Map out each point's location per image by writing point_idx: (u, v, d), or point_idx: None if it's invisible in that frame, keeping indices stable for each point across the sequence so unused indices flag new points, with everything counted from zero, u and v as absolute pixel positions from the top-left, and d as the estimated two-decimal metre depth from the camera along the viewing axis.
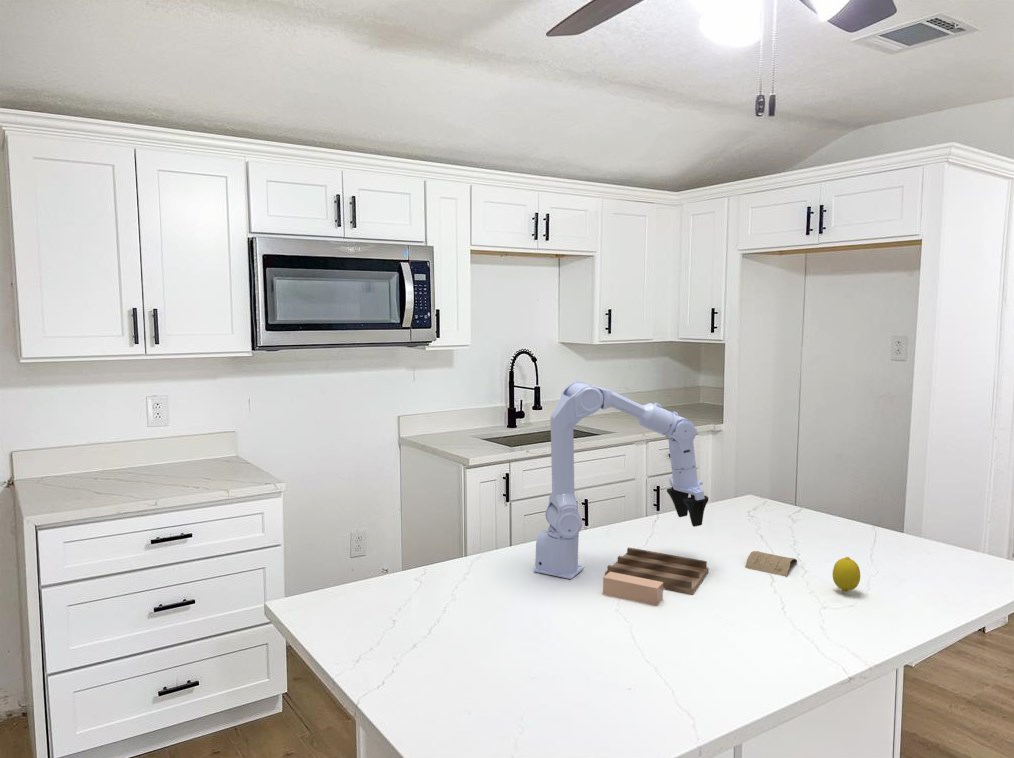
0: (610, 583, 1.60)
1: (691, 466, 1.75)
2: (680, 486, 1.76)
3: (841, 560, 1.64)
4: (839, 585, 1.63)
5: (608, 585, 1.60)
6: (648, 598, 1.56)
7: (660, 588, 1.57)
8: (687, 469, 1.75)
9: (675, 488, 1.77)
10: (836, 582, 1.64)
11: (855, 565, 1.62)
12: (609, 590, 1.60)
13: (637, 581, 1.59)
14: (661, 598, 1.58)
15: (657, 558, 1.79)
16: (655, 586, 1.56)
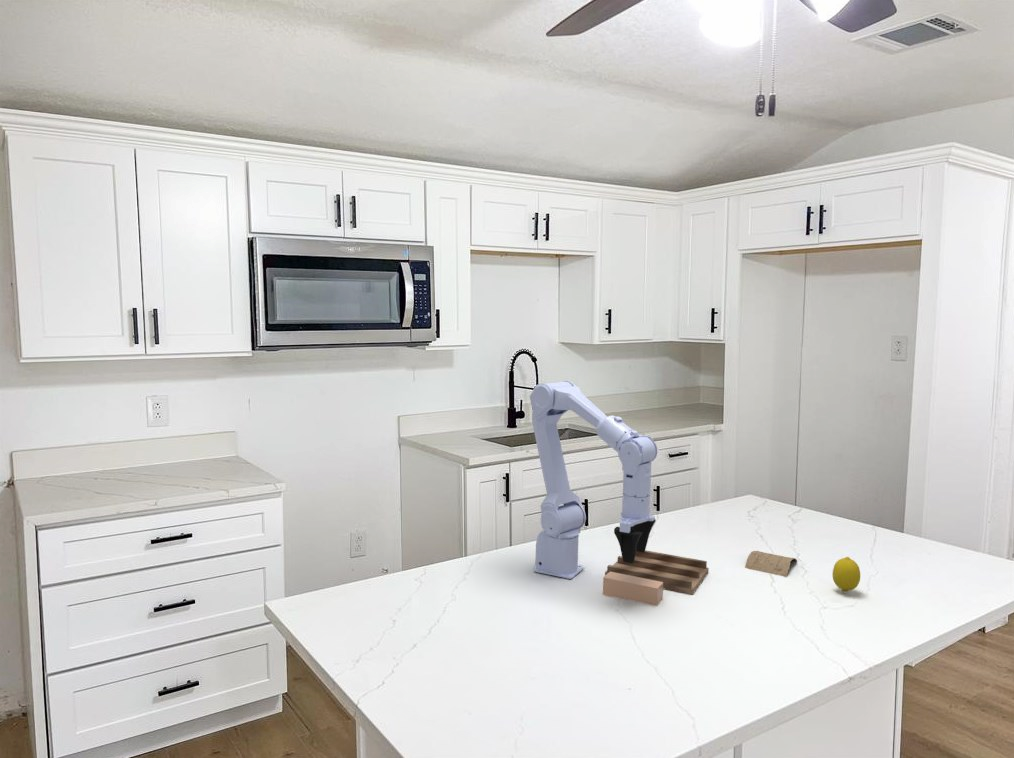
0: (610, 583, 1.60)
1: (631, 494, 1.55)
2: (622, 513, 1.58)
3: (841, 560, 1.64)
4: (839, 585, 1.63)
5: (608, 585, 1.60)
6: (649, 597, 1.56)
7: (660, 588, 1.57)
8: (630, 497, 1.55)
9: (621, 514, 1.59)
10: (836, 582, 1.64)
11: (855, 565, 1.62)
12: (609, 590, 1.60)
13: (637, 581, 1.59)
14: (661, 598, 1.58)
15: (657, 558, 1.79)
16: (655, 586, 1.56)
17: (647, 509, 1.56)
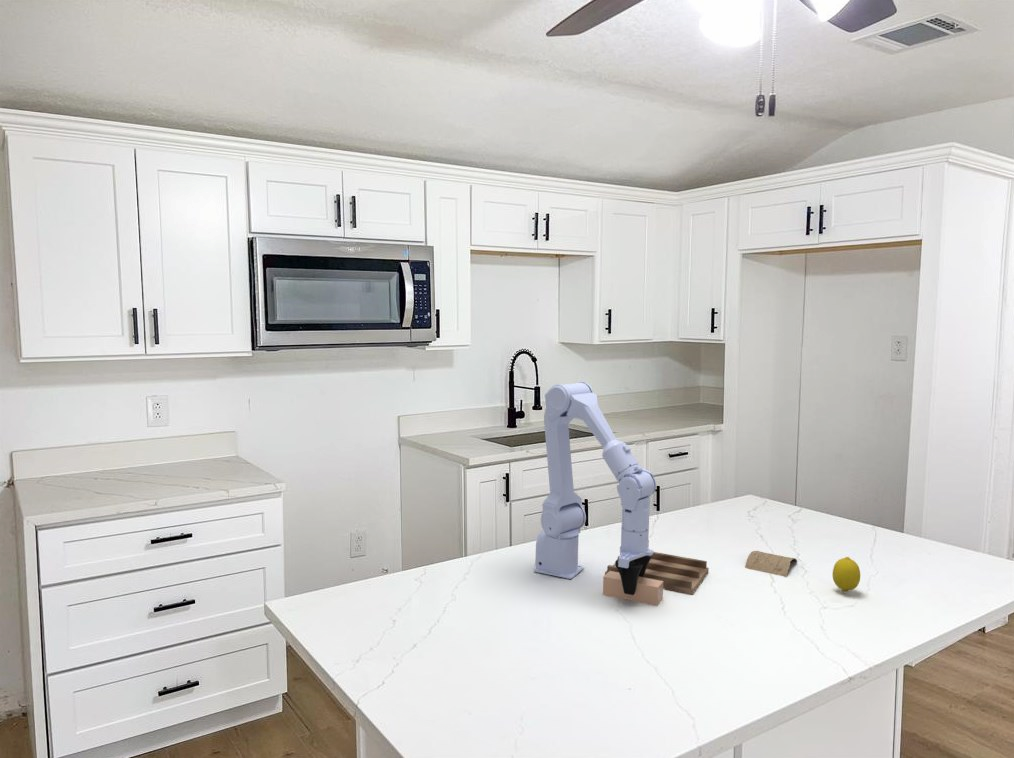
0: (610, 582, 1.60)
1: (630, 529, 1.56)
2: (621, 547, 1.58)
3: (841, 560, 1.64)
4: (839, 585, 1.63)
5: (608, 584, 1.60)
6: (649, 597, 1.56)
7: (660, 587, 1.57)
8: (629, 531, 1.56)
9: (620, 548, 1.60)
10: (836, 582, 1.64)
11: (855, 565, 1.62)
12: (609, 589, 1.60)
13: (637, 580, 1.59)
14: (661, 597, 1.58)
15: (657, 558, 1.79)
16: (655, 585, 1.56)
17: (646, 543, 1.57)
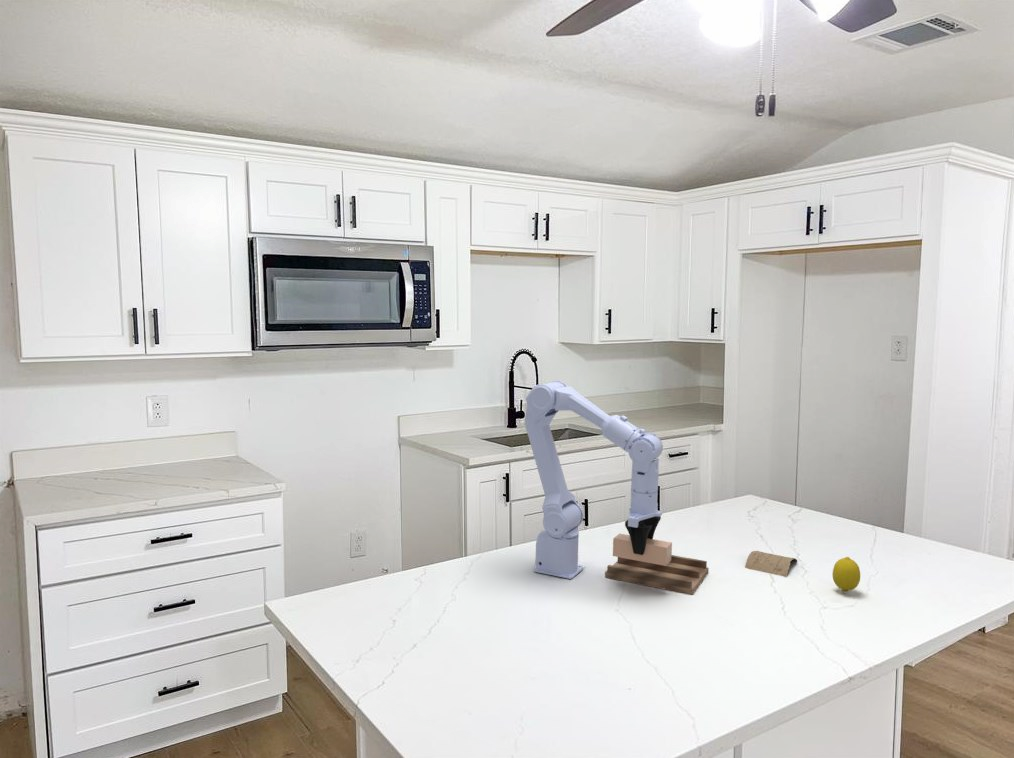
0: (620, 544, 1.64)
1: (643, 491, 1.60)
2: (631, 509, 1.63)
3: (841, 560, 1.64)
4: (839, 585, 1.63)
5: (618, 545, 1.64)
6: (658, 557, 1.60)
7: (669, 548, 1.61)
8: (638, 493, 1.60)
9: None
10: (836, 582, 1.64)
11: (855, 565, 1.62)
12: (619, 551, 1.64)
13: (646, 541, 1.63)
14: (670, 558, 1.62)
15: None
16: (664, 546, 1.60)
17: (655, 505, 1.61)
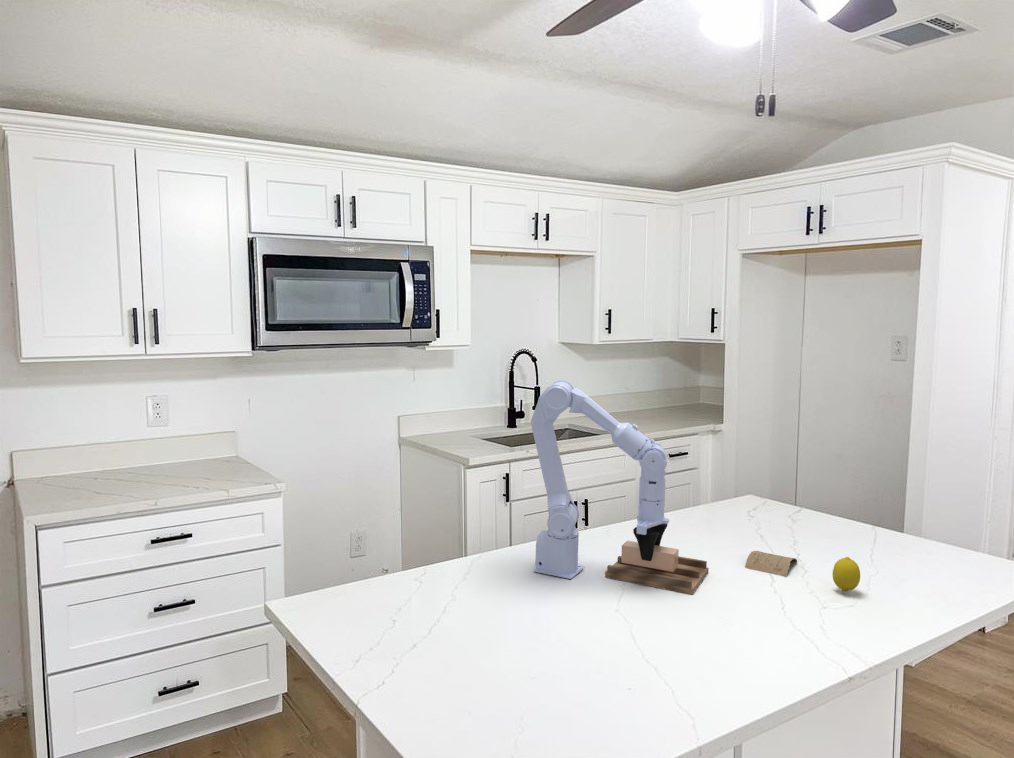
0: (628, 551, 1.70)
1: (654, 499, 1.65)
2: (639, 516, 1.68)
3: (841, 560, 1.64)
4: (839, 585, 1.63)
5: (626, 552, 1.70)
6: (665, 563, 1.66)
7: (676, 554, 1.67)
8: (646, 501, 1.66)
9: (637, 517, 1.69)
10: (836, 582, 1.64)
11: (855, 565, 1.62)
12: (627, 557, 1.70)
13: (654, 548, 1.69)
14: (677, 564, 1.68)
15: None
16: (671, 553, 1.66)
17: (662, 512, 1.67)
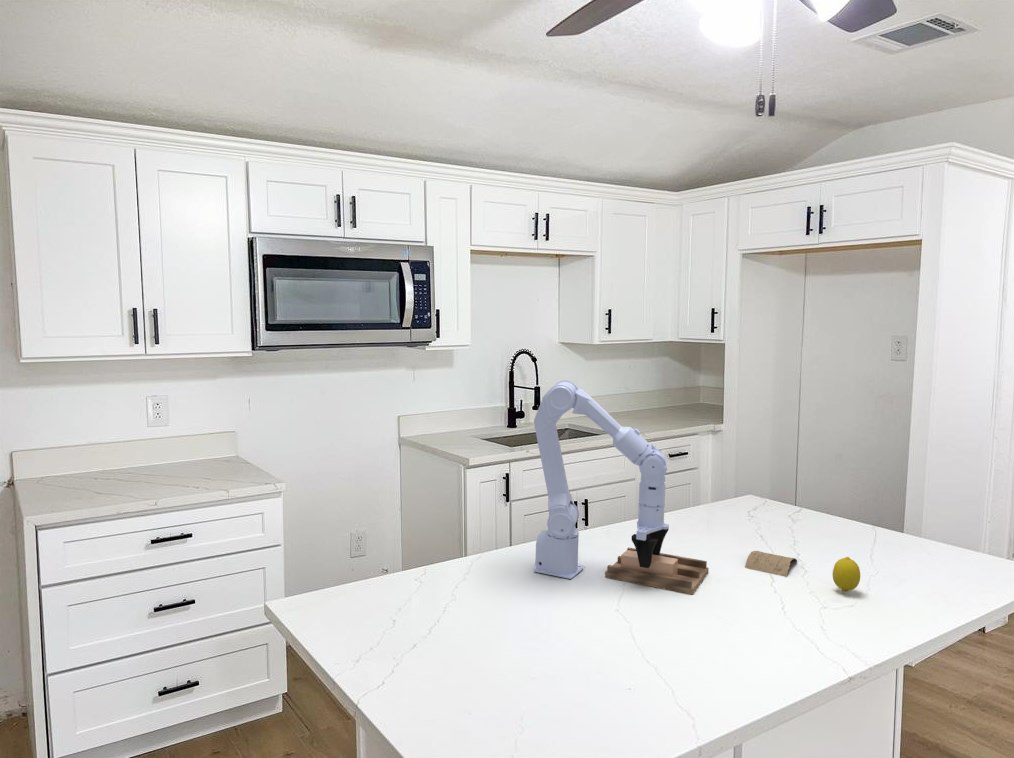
0: (627, 560, 1.70)
1: (654, 505, 1.65)
2: (638, 522, 1.68)
3: (841, 560, 1.64)
4: (839, 585, 1.63)
5: (625, 562, 1.70)
6: (664, 573, 1.66)
7: (675, 564, 1.67)
8: (646, 506, 1.66)
9: (637, 523, 1.70)
10: (836, 582, 1.64)
11: (855, 565, 1.62)
12: (627, 567, 1.70)
13: (653, 558, 1.69)
14: (676, 574, 1.68)
15: None
16: (670, 563, 1.66)
17: (662, 518, 1.67)
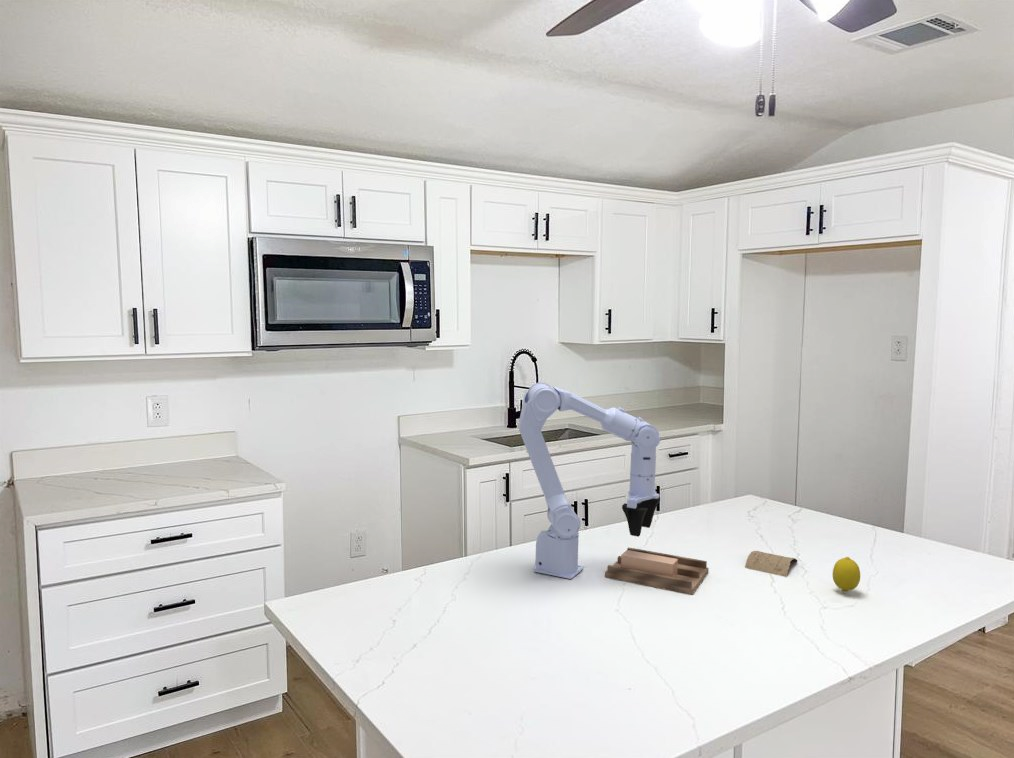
0: (627, 560, 1.70)
1: (649, 475, 1.71)
2: (630, 491, 1.73)
3: (841, 560, 1.64)
4: (839, 585, 1.63)
5: (625, 562, 1.70)
6: (664, 573, 1.66)
7: (675, 564, 1.67)
8: (637, 476, 1.71)
9: None
10: (836, 582, 1.64)
11: (855, 565, 1.62)
12: (627, 567, 1.70)
13: (653, 558, 1.69)
14: (676, 574, 1.68)
15: None
16: (670, 563, 1.66)
17: (652, 488, 1.72)
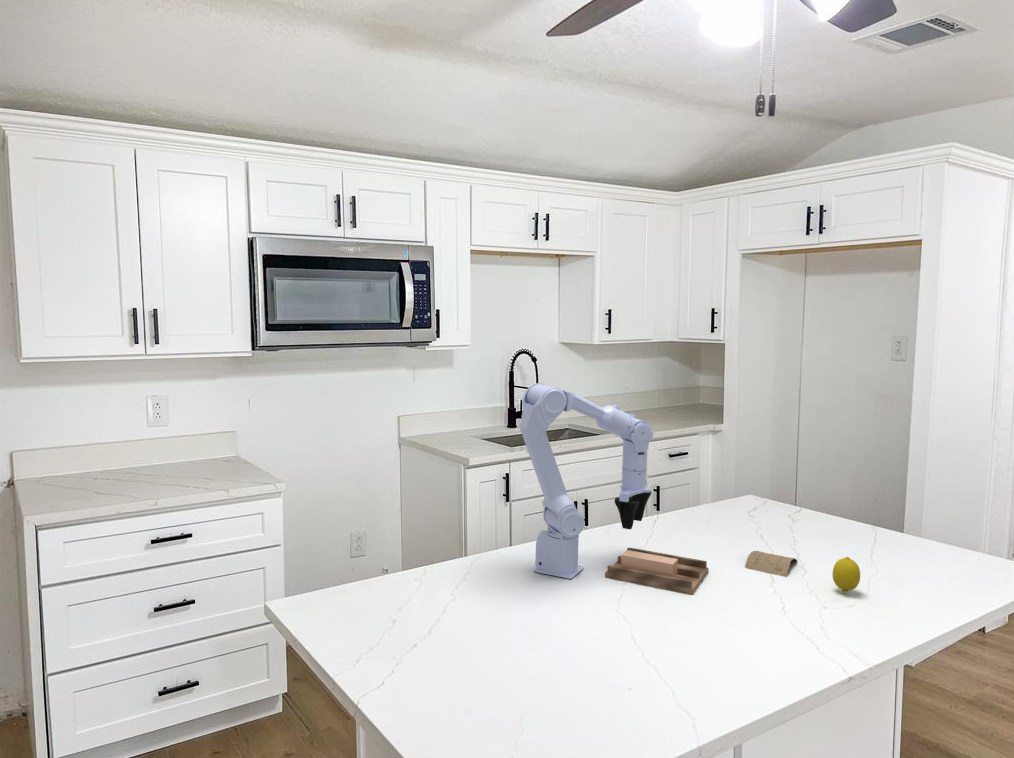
0: (627, 560, 1.70)
1: (643, 469, 1.76)
2: (622, 486, 1.78)
3: (841, 560, 1.64)
4: (839, 585, 1.63)
5: (625, 562, 1.70)
6: (664, 573, 1.66)
7: (675, 564, 1.67)
8: (628, 471, 1.76)
9: None
10: (836, 582, 1.64)
11: (855, 565, 1.62)
12: (627, 567, 1.70)
13: (653, 558, 1.69)
14: (676, 574, 1.68)
15: None
16: (670, 563, 1.66)
17: (644, 482, 1.77)
